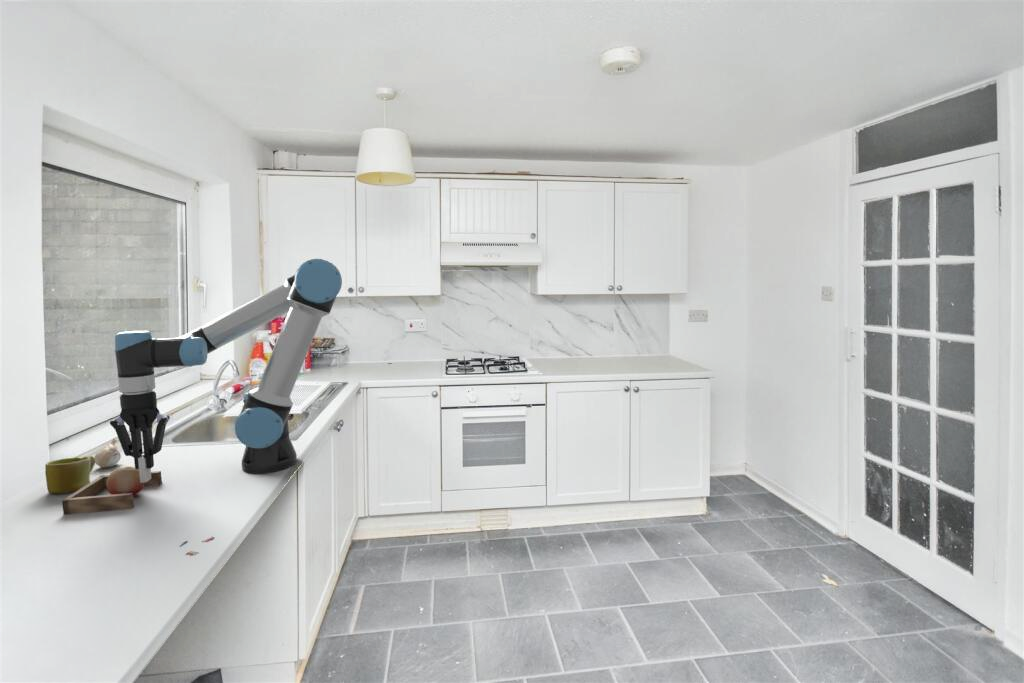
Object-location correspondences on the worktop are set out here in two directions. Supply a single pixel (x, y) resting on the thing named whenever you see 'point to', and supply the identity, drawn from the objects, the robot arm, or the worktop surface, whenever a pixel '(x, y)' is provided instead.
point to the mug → (68, 474)
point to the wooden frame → (102, 497)
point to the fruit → (124, 481)
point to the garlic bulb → (108, 456)
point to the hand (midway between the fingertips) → (145, 480)
